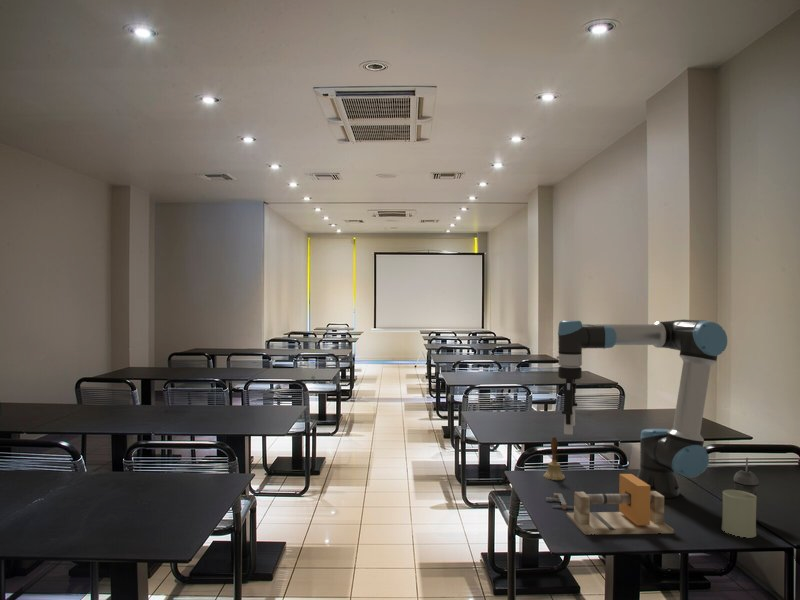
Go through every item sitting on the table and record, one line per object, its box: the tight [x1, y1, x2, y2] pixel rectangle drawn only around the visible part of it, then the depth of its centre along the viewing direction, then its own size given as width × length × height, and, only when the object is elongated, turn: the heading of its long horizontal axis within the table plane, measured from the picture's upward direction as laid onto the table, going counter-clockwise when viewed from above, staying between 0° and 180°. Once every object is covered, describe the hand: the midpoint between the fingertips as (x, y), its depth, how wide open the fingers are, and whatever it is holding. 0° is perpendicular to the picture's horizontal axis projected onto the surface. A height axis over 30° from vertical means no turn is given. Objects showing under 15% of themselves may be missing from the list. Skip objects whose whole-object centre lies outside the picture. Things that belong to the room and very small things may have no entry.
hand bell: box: [543, 436, 566, 481], centre depth 226 cm, size 8×8×16 cm
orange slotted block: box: [618, 473, 650, 525], centre depth 180 cm, size 4×12×12 cm, turn 4°
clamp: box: [545, 492, 574, 510], centre depth 195 cm, size 15×2×10 cm
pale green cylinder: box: [721, 489, 757, 539], centre depth 175 cm, size 9×9×12 cm
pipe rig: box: [565, 491, 675, 536], centre depth 179 cm, size 28×15×10 cm, turn 94°
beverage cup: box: [732, 457, 760, 497], centre depth 187 cm, size 7×7×20 cm
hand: (569, 429), depth 191 cm, fingers open, 13 cm apart
